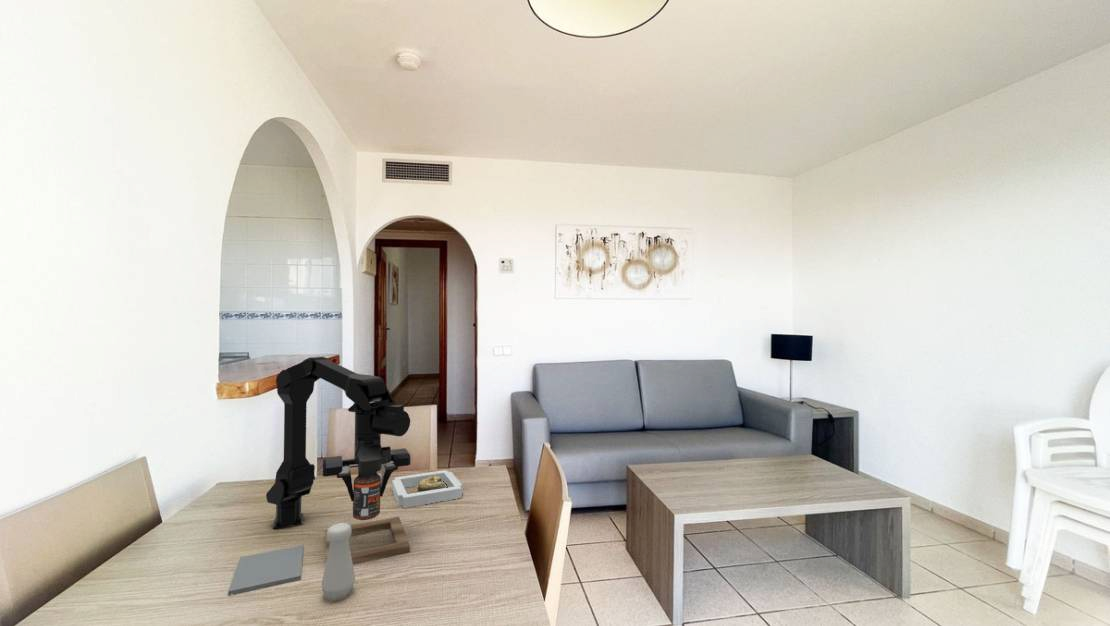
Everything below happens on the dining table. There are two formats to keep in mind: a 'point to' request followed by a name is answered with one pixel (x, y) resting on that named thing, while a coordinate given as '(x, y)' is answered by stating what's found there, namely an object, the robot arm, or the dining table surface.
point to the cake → (430, 484)
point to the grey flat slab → (267, 569)
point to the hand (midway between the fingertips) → (367, 498)
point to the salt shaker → (338, 564)
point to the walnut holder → (382, 551)
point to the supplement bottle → (366, 495)
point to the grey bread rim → (426, 496)
